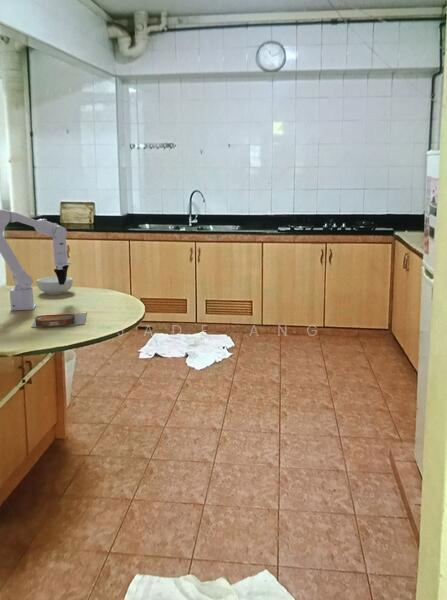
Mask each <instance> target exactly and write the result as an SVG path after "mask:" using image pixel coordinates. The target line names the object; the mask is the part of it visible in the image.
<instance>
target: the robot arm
mask: <svg viewBox="0 0 447 600" xmlns="http://www.w3.org/2000/svg"><path fill="white" fill-rule="evenodd" d="M15 222H16V223H17V222H18V223H21V224H25V225H28V226H29V227H33V228H34V229H35V231H36V232H38V233H41V234H44V235H46V236H50V237H52V248H53V260H54V262H53V264H54V266H55V268H54V269H53V272H54V273H55V275H56V277H57V278H58V282H59V285H64V283H65V281H66V277H68V276H67V274H68V269H69V267H70V265H71V261H68V248H67V245H68V244H67V236H68V235H69V234H68V231H67V229H66V228H65V227H64V226H62V225H59V224H58V223H56V222H51V221H48V219H47V218H39V219H34V218H31V217H28V216H26V215H23V214H21V213H18V212H15V211H12V210H7V209H6V210H5V209H1V208H0V255H1V257H2V258H3V260H4V262H5V263H6V265H7V266H8V268H9V270H10V272H11V275H12V277H13V279H12V280H13V282H14V284H15V287H14V288H11V289H10V290H9V300H10V311H25V310H26V311H28V310H34V309H35V308H36V306H37V304H35V303H34V292H33V291H34V290H33V281H34V280H33V277H32V276H31V275H29V274H28V273H27V272H26V270H25V269H24V267H22V264H21V263H20V261H19V260H18V258H17V256H16V255H15V253H14V252H13V250H12V247H11V246H10V244H9V243H8V241H7V240H6V238H5V236H4V235H3V234H4V231H5V228H6V226H8V224H9V223H15Z"/></svg>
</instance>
